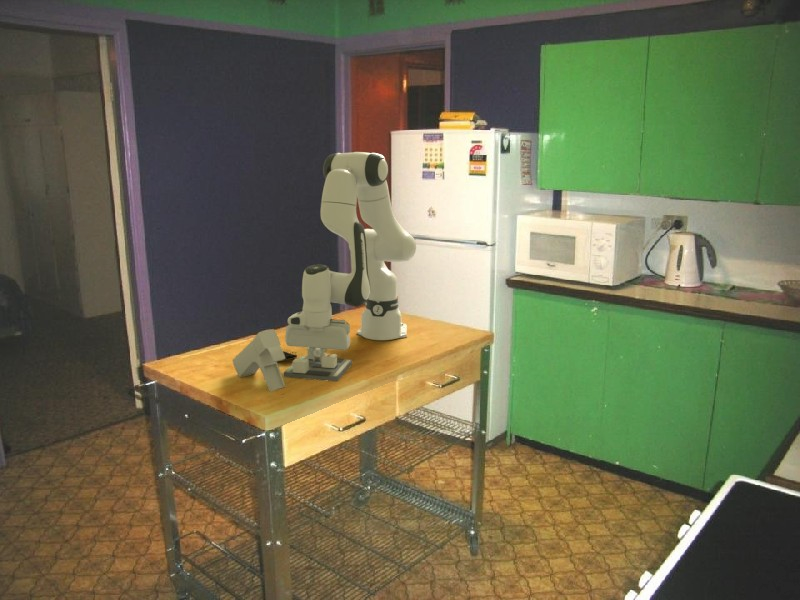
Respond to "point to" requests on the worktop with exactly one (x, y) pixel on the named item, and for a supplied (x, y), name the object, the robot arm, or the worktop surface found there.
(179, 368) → the worktop surface
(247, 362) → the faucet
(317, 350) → the block
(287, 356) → the hairbrush
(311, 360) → the panel
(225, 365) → the worktop surface
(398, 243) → the robot arm
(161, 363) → the worktop surface
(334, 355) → the breaker
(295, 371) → the block
